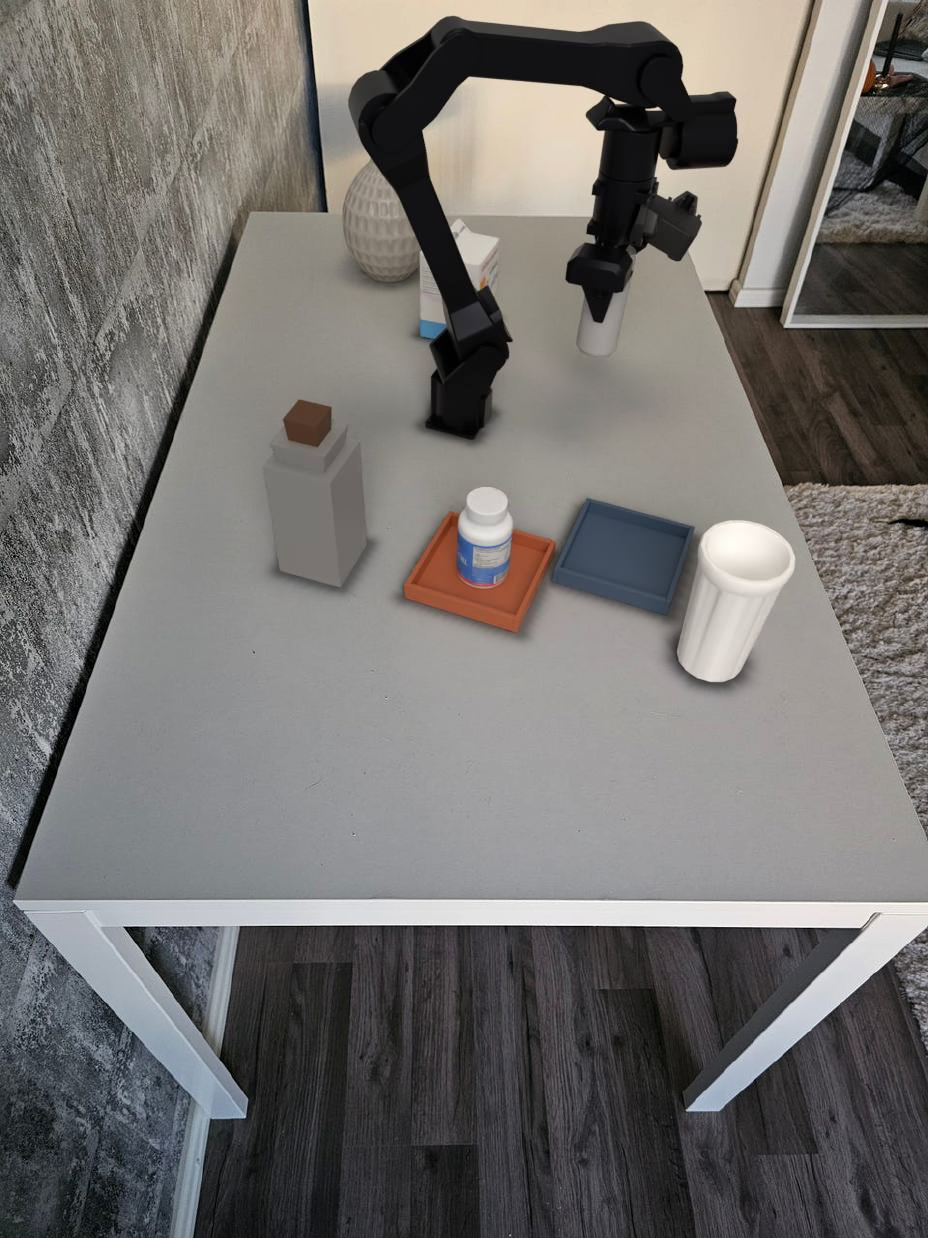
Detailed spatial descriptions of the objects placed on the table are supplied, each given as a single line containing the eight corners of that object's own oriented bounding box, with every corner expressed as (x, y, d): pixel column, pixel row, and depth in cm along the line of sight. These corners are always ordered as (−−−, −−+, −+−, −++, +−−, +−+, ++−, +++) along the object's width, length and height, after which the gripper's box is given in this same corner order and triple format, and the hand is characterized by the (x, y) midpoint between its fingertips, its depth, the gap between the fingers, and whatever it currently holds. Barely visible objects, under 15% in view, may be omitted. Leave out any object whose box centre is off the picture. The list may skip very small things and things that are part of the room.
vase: (344, 253, 139) (337, 137, 127) (428, 251, 140) (428, 136, 128) (346, 295, 130) (338, 175, 118) (435, 293, 132) (437, 174, 119)
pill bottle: (454, 554, 95) (456, 481, 88) (505, 552, 95) (511, 479, 88) (458, 592, 91) (461, 519, 84) (511, 590, 92) (518, 517, 84)
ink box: (477, 348, 122) (481, 252, 112) (418, 336, 124) (418, 240, 114) (496, 317, 128) (502, 223, 118) (440, 306, 129) (441, 212, 119)
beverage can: (614, 362, 106) (636, 259, 98) (573, 355, 106) (592, 252, 98) (616, 344, 109) (638, 243, 101) (576, 337, 110) (595, 237, 102)
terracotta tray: (404, 597, 91) (404, 584, 90) (449, 523, 99) (449, 510, 97) (517, 633, 88) (518, 620, 87) (554, 554, 96) (556, 540, 94)
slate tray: (552, 581, 93) (554, 568, 92) (584, 510, 101) (587, 497, 99) (666, 615, 90) (670, 602, 89) (691, 539, 98) (695, 526, 97)
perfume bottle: (366, 544, 96) (357, 400, 83) (340, 587, 92) (325, 442, 78) (308, 529, 97) (290, 384, 84) (279, 570, 93) (255, 425, 80)
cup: (733, 706, 83) (778, 599, 72) (652, 668, 86) (684, 560, 75) (763, 649, 88) (809, 541, 77) (685, 615, 91) (720, 506, 80)
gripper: (687, 223, 85) (655, 368, 97) (720, 151, 97) (688, 288, 109) (573, 201, 88) (555, 345, 99) (619, 133, 100) (598, 269, 111)
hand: (604, 311), depth 105 cm, fingers closed on beverage can, 5 cm apart
